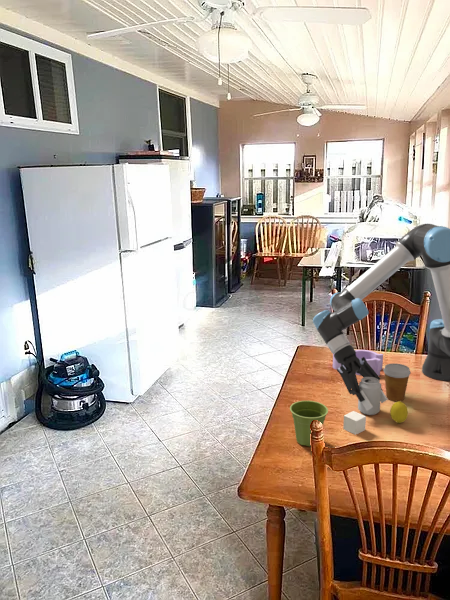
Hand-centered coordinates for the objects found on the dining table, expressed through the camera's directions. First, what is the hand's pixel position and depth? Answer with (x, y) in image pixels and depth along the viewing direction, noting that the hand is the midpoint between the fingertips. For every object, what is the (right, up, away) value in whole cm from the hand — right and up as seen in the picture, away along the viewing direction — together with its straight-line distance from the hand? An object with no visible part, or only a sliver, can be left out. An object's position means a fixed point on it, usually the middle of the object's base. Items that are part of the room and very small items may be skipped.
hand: (377, 405), depth 172 cm
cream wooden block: (-10, -6, -8) cm, 15 cm away
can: (-2, -3, +4) cm, 5 cm away
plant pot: (-26, -9, -14) cm, 31 cm away
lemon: (+5, -5, -5) cm, 9 cm away
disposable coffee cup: (+11, 0, +13) cm, 17 cm away
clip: (+4, +7, +41) cm, 41 cm away
